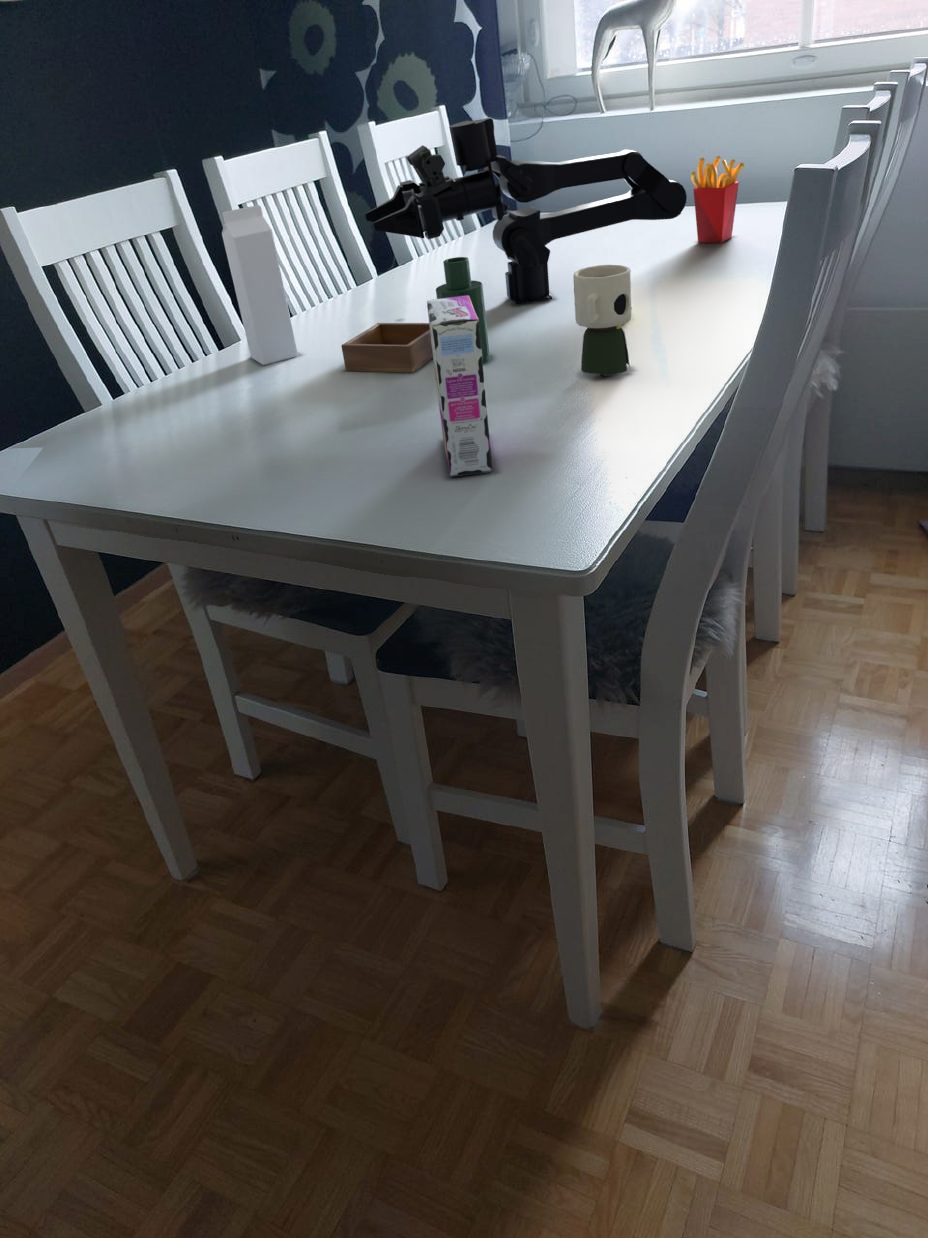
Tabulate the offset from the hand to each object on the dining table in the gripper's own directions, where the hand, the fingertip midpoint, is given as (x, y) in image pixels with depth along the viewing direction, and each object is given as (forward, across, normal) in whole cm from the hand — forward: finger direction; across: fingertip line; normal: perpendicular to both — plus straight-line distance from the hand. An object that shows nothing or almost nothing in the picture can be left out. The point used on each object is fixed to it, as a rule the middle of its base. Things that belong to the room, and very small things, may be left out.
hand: (369, 221), depth 150 cm
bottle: (-6, +28, +16) cm, 33 cm away
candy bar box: (+2, +63, +16) cm, 65 cm away
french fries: (-66, -18, +23) cm, 73 cm away
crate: (+3, +21, +16) cm, 26 cm away
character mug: (-21, +44, +18) cm, 52 cm away
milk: (+21, +8, +14) cm, 26 cm away
